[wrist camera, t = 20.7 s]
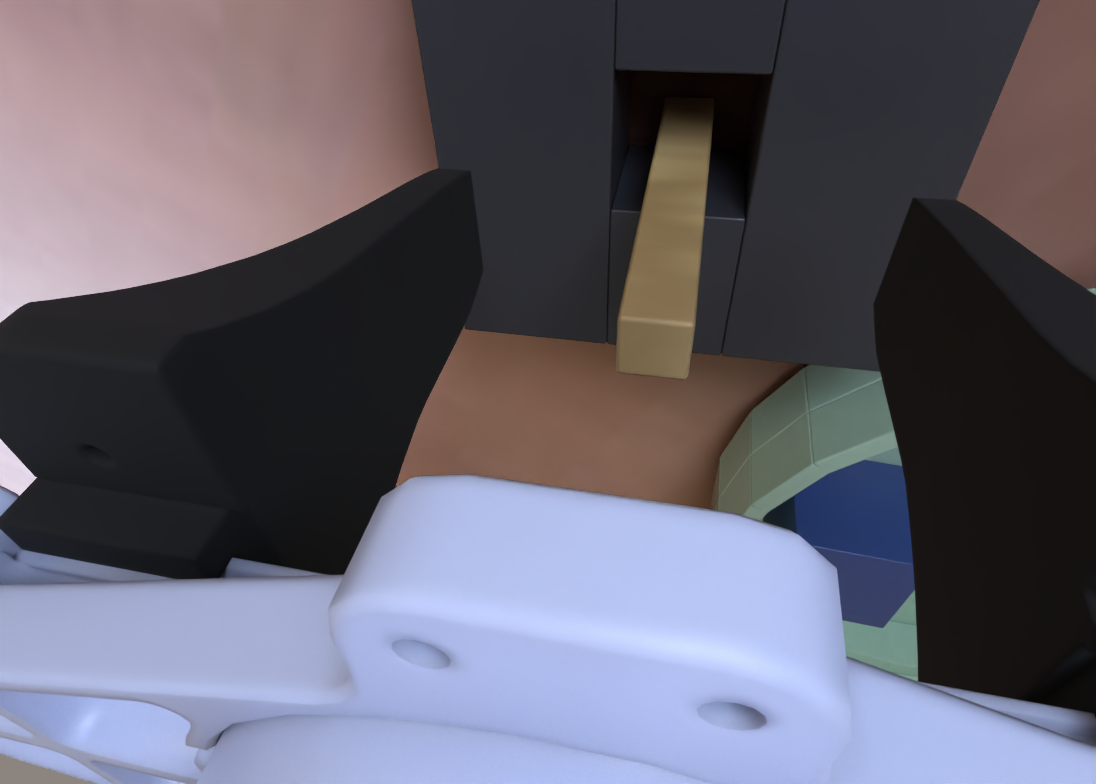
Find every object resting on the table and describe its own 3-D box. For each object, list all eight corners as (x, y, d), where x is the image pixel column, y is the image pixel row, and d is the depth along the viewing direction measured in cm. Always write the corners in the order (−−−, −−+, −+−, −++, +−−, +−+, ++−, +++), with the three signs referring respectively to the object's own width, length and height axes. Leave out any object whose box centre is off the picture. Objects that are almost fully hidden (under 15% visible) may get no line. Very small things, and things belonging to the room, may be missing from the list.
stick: (715, 97, 16) (695, 324, 10) (709, 145, 17) (687, 382, 11) (665, 95, 17) (617, 317, 10) (661, 142, 17) (614, 374, 11)
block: (910, 466, 23) (933, 568, 20) (868, 531, 26) (883, 629, 23) (790, 446, 23) (796, 543, 21) (762, 512, 26) (764, 605, 23)
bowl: (1612, 314, 16) (1830, 461, 12) (1138, 666, 29) (1185, 780, 26) (761, 250, 19) (764, 353, 16) (689, 592, 32) (683, 684, 29)
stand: (1052, -232, 11) (1135, -223, 9) (866, 292, 19) (883, 373, 17) (445, -206, 13) (378, -191, 11) (496, 261, 21) (464, 329, 19)
